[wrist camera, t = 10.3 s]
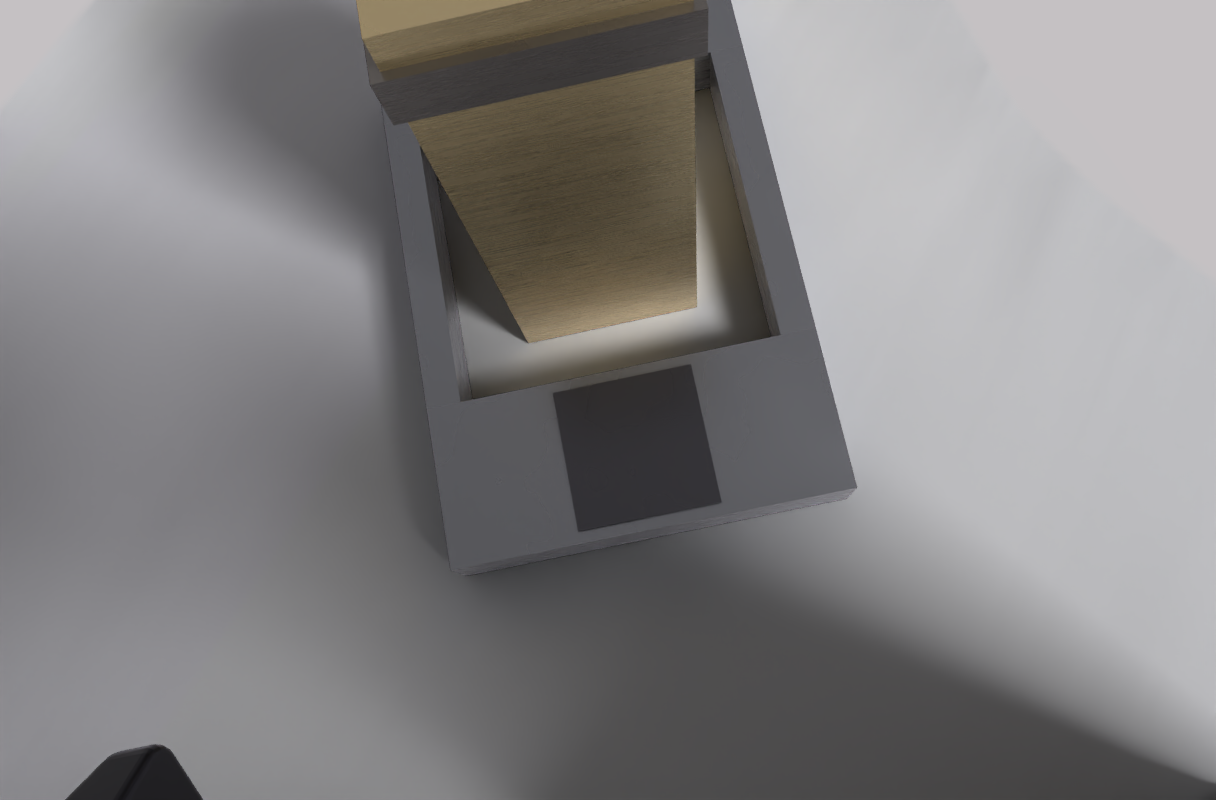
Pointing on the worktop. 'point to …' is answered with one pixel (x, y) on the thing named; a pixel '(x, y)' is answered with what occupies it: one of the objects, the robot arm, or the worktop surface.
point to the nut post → (556, 143)
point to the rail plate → (629, 388)
